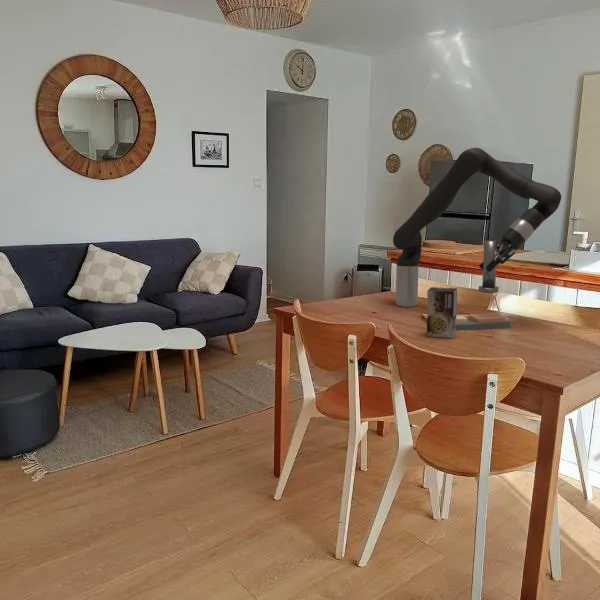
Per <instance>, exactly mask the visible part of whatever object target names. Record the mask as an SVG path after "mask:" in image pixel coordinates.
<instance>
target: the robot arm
mask: <svg viewBox="0 0 600 600" xmlns="http://www.w3.org/2000/svg"><path fill="white" fill-rule="evenodd" d="M476 173H480V174H483V175H485V176H488V177H490V178H491V179H493V180H495V181H496V182H497V183H499V184H500V185H501V186H502V187H504V188H505V189H506V190H508V191H509V192H510V193H512V194H514V195H515V196H518V197H520V198H522V199H525V200H530V199H532V200H534V201H537V202H536V203H535V204H534V205H533V206H532V207H531V208H530V207H529V208H528V209H527V210H525V211H524V213H522V214H521V216H519V218H518V219H516V220H515V221H514V222H513V223H512V224H511V225H510V226H509V227H508V228H507V229H506V230H505V232H503V234H501V236H500V240H501V242H499V243H497V253H496V256H495V258H494V259H493V260H494V261H493V260H492V261H491V262H490V263H489V264H488V265H487V267H486V270H487V271H488V272H491V271H492V270H493V269H494V268H495V267H496V268H497V266H499V265H503V264H504V263H506V262H508V260H510V259H511V258H512V257H513V256H514V255H516V251H518V250H519V249H521V247H522V246H523V245H524V244H525V243H526V242H527V241H528V240H529V238H531V236H532V235H533V233H534V232H535V231H536V230H537V229H538V228H539V227H540V226H541V224H543V222H545V221H546V220H547V219H548V218H549V217H551V216H552V215H553V214H554V213H555V212H556V211H557V210H558V208H559V207H560V203H561V201H562V194H561V192H560V191H559V189H557V188H556V187H554V186H552V185H548V184H545V183H541V182H538V181H535V180H533V179H531V178H529V177H527V176H525V175H524V174H522V173H520V172H517V171H515V170H514V169H512V168H509V167H508V166H507V165H504V164H503V163H501V162H500V161H498V160H497V159H496V158H494V157H493V156H492V155H490V154H489V153H488V152H486V151H485V150H483V149H482V148H479V147H471V148H469V149H465V150H463V151H462V152H461V153H460V154H459V156H457V158H456V160H455V161H454V163H453V164H452V166H451V168H450V169H449V171H448V172H447V173H446V174H445V176H444V177H442V178H441V180H440V181H439V182H438V183H437V184H436V185H435V186H434V188H433V189H432V190H431V191H430V192H429V193H428V194H427V196H426V197H425V198H424V200H422V202H421V203H420V205H419V206H418V207H417V208H416V210H415V211H414V212H413V213H412V214H411V215H410V217H409V218H408V219H407V220H406V221H405V222H404V223H403V224H402V225H400V226H399V228H398V229H396V231H395V232H394V234H393V237H392V242H393V243H392V244H393V245H394V247H395V249H398V250H402V252H401V254H400V256H399V257H397V259H396V271H395V272H396V278H395V279H396V280H395V281H396V284H395V285H396V286H395V305H396V306H398V307H403V308H405V307H407V308H409V307H410V308H412V307H416V306H418V303H419V302H418V300H419V298H418V297H419V265H420V260H421V257H422V246H423V245H422V244H423V237H422V236H423V235H422V233H421V231H422V230H423V229H424V228H426V227H427V226H428V225H429V224H431V223H433V222H434V221H436V219H438V218H440V217H441V216H442V215H443V214H444V213H445V211H446V210H447V209H448V208H449V207H450V206H451V204H452V203H453V202H454V200H455V198H456V196H457V194H458V192H459V190H460V189H461V187H462V186H463V185H464V184H465V183H466V182H467V181H468V180H469V179H470V178H471V177H473V175H475V174H476ZM478 267H479V268H480V269H481V270H482V271H483V261H482V262H481V263H480V264H479V266H478Z"/></svg>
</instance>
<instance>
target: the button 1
mask: <svg viewBox="0 0 600 600" xmlns="http://www.w3.org/2000/svg"><path fill="white" fill-rule="evenodd" d="M467 318H468V317H465V316H463V315H456V324H457V323H468V319H467Z"/></svg>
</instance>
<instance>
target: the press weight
mask: <svg viewBox="0 0 600 600" xmlns="http://www.w3.org/2000/svg"><path fill="white" fill-rule="evenodd" d="M497 245H498V241H497V240H484V241H483V261H482V262H483V270H482V283H481V285H479V286H478V292H480V293H485V294H495V293H498V292H499V286H496V275H497V273H496V272H497V266H496V267H495V268H494V269H493V270H492V271H491V272H488V271H487V270H486V267H487V265H488V264H489V263H490V262H491V261H492V260H493V259H494V258H495V256H496V253H497ZM493 261H494V260H493Z"/></svg>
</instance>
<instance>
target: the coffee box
mask: <svg viewBox="0 0 600 600" xmlns="http://www.w3.org/2000/svg"><path fill="white" fill-rule="evenodd" d="M426 291H427V294H426V295H427V296H426V297H427V298H426V299H427V302H426V304H427V305H426V336H427V337H433V338H445V339H446V338H448V339H453V338H455V336H456V335H457V331H456V316H457V312H458V311H457V308H458V307H457V306H458V298H457V297H458V288H457V287H453V288H452V287H438V286H436V287H434V286H433V287H429V288H428V290H426Z"/></svg>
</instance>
